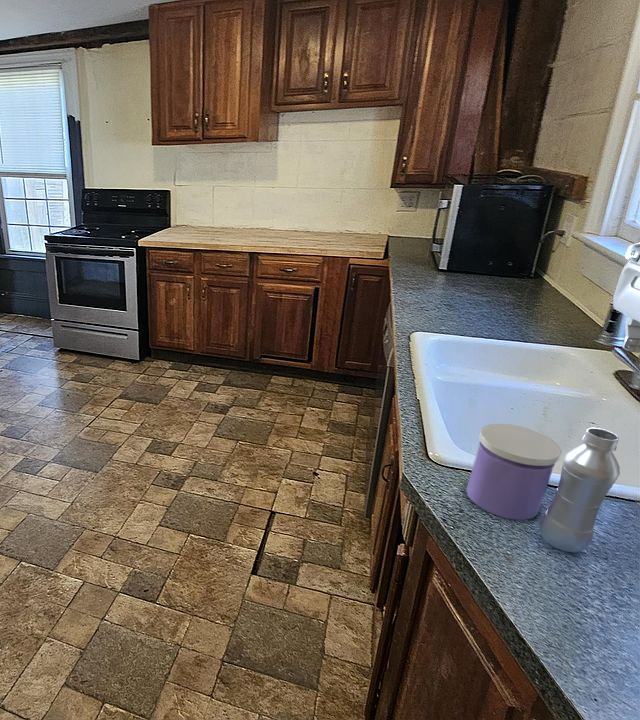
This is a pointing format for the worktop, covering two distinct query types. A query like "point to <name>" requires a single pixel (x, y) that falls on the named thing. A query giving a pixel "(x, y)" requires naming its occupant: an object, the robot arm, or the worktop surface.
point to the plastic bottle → (581, 491)
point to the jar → (512, 470)
